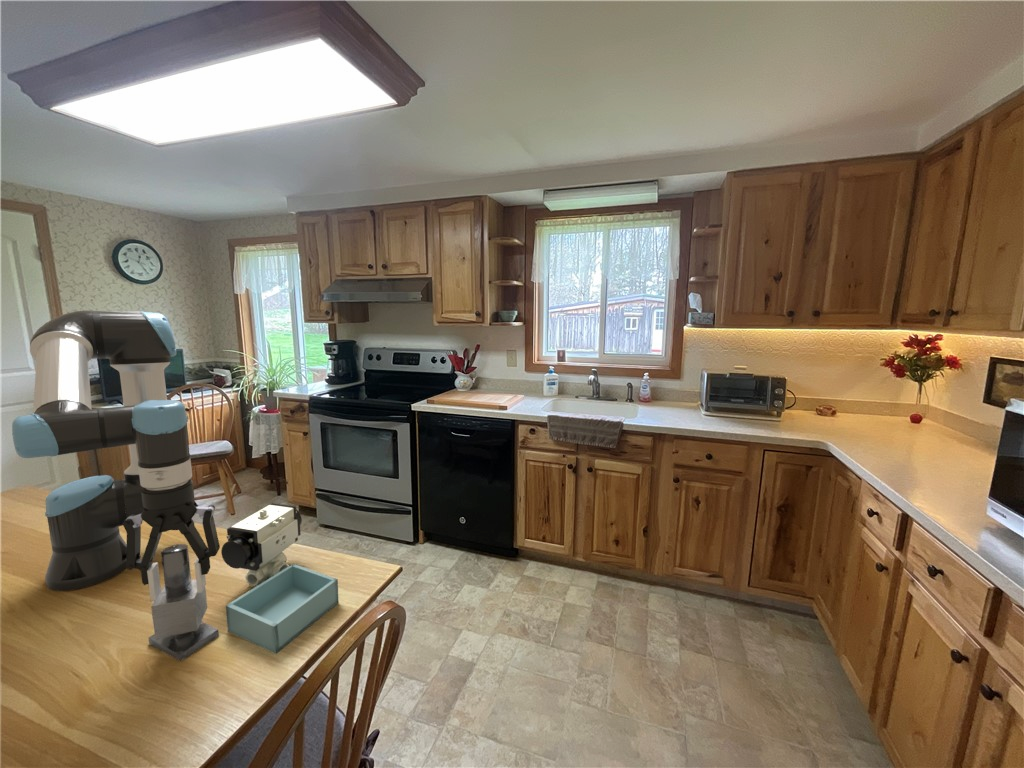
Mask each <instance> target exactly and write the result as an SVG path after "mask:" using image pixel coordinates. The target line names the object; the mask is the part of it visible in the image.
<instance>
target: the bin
mask: <svg viewBox="0 0 1024 768" xmlns="http://www.w3.org/2000/svg"><path fill="white" fill-rule="evenodd" d="M338 580H339V579H338V578H335V577H333V576H330V575H327V574H323V573H321V572H318V571H315V570H312V569H310V568H307V567H304V566H301V565H298V564H295V563H292V564H290V565H288V567H287V568H285V569H284V570H282V571H280V572H279V573H277V574H276V575H274V576H272V577H271V578H269V579H268V580H266V581H264V582H263V583H261V584H259V585H257V586H254V587H253V588H252V589H250V590H248V591H247V592H245V593H243V594H242V595H239V597H237V598H236V599H234V600H232V601H231V602H229V603H227V604H225V613H226V624H227V625H226V626H227V632H228V633H231V634H232V635H235V636H236V637H239V638H241V639H243V640H245V641H247V642H249V643H252V644H254V645H256V646H257V647H260V648H262V649H264V650H266V651H268V652H270V653H272V654H275V655H277V654H278V653H279V652H280V651H282V650H283V649H284V648H285V647H286V646H287V645H289V644H290V643H291V642H292V641H294V640H295V639H296V638H297V637H298V636H300V635H301V634H302V633H304V632H305V631H306V630H307V629H308V628H310V627H311V626H313V624H315V623H316V622H317V621H318V620H319V619H320V618H322V617H324V615H325V614H327V613H328V612H329V611H330V610H332V609H333V608H334V607H336V606H337V605H338V603H339V602H340V601H339V585H338V584H339V582H338Z"/></svg>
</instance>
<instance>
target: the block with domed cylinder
mask: <svg viewBox="0 0 1024 768" xmlns="http://www.w3.org/2000/svg"><path fill="white" fill-rule="evenodd" d="M160 554H161V565H162V572H163V581H164V585H163V587H162V589H161V592H160V593H159V595H158V597H157V598H156V600H155V601H153V602H152V604H151V605H150V607H151V615H152V623H153V624H152V625H153V634H155V639H158V638H163V637H168V636H173V635H177V634H182V633H187V632H191V631H196V630H198V628H199V626H200V623H201V621H202V622H203V618H204V616H205V614H206V612H207V609H208V602H207V590H206V586H205V587H204V589H203V591H202V593H197V584H196V578H195V579H192V575H191V567H190V557H189V555H190V554H189V547H188V545H187V544H185V543H178V544H174V545H170V546H168V547H166V548H164V549H163V550H161V553H160Z"/></svg>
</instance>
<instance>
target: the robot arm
mask: <svg viewBox="0 0 1024 768" xmlns="http://www.w3.org/2000/svg"><path fill="white" fill-rule="evenodd" d="M29 353H30V355H31V357H32V358H33V359H34V360H35V373H34V375H35V377H34V390H33V391H34V394H33V407H32V409H33V410H32V412H33V413H31V414H29V415H23V416H18V417H16V418H14V420H13V421H12V423H11V424H12V425H11V432H12V440H13V446H14V449H15V452H16V454H17V455H18V457H20V458H22V459H33V458H43V457H57V456H61V455H69V454H74V453H81V452H87V451H94V450H100V449H107V448H108V449H109V448H115V447H122V446H123V447H124V446H128V450H129V459H130V464H129V466H128V467H127V468H126V469H125V470H123V475H124V478H122V479H116V480H114V477H113V476H111V475H107V474H102V475H93V476H89V477H85V478H83V477H82V478H81V479H77V480H74V481H71V482H68V483H66V484H63V485H61V486H60V487H59V486H58V487H57V488H55V489H53V490H52V491H51V492H50V493H48V494H47V496H46V498H45V502H44V503H45V512H44V513H45V515H44V516H45V517H46V518H47V519H46V520H47V524H48V531H49V538H50V544H51V550H52V553H51V557H50V560H49V562H48V565H47V566H48V567H47V569H46V572H45V578H44V579H45V586H46V589H49V591H50V590H51V591H55V592H66V591H69V592H70V591H73V590H80V589H84V588H88V587H91V586H95V585H98V584H101V583H102V582H105V581H108V580H110V579H112V578H115V577H116V576H118V575H120V574H121V573H123V572H125V571H126V570H134V569H136V570H139V571H140V574H141V575H140V576H141V582H142V583H141V584H143V585H144V586H147V585H148V590H149V596H150V597H149V598H150V602H151V603H154V601H155V600H156V598H157V597H158V595H159V593H160V592H161V590H162V589H161V588H162V587H161V579H160V570H159V568H160V567H159V562H153V561H154V560H155V559H154V558H155V555H156V551H157V548H158V546H159V543H160V540H161V536H162V534H163V533H165V532H169V531H179V533H180V534H181V535H183V536H184V538H185V539H186V542H187V543H188V544H189V546H190V547H191V549H192V551H193V553H194V555H195V556H196V560H195V562H194V571H195V579H196V584H197V593H202V591H203V589H204V587H205V588H206V584H207V582H206V575H208V574H209V571H210V569H211V560H210V558H211V557H216V556H217V555H218V552H219V550H220V548H221V545H220V540H219V537H218V532H217V527H216V522H215V520H214V519H215V517H214V515H215V514H214V513H215V509H216V506H215V505H213V504H210V505H208V506H199V505H198V503H197V502H196V500H195V491H194V490H195V489H194V480H192V478H193V470H192V460H191V459H192V458H191V454H190V453H191V452H190V443H189V432H188V430H189V429H188V421H189V419H188V416H187V413H186V406H185V404H184V403H183V402H182V401H179V400H174V399H168V397H167V396H168V395H167V388H166V377H165V369H166V368H167V367H169V365H170V364H171V358H173V357H176V356H177V347H176V342H175V337H174V334H173V331H172V328H171V325H170V323H169V320H168V318H167V317H166V316H165V315H164V314H162V313H159V312H150V311H142V310H140V311H123V310H121V311H119V310H115V311H114V310H113V311H112V310H110V311H108V310H77V311H71V312H67V313H64V314H61V315H59V316H56V317H54V318H52V319H50V320H49V321H47V322H45V323H44V324H42V326H40V327H39V328H38V329H37V330H36V331H35V333H34V334H33V335H32V337H31V339H30V343H29ZM170 357H171V358H170ZM94 359H95V360H96V359H98V360H99V359H108V360H109V366H110V367H112V368H113V369H114V370H117V371H118V372H119V373H118V374H119V377H120V378H119V379H120V386H121V395H122V401H123V406H115V407H113V406H112V407H105V408H104V407H101V408H93V407H92V394H91V384H90V382H91V381H90V372H89V371H90V370H89V361H91V360H94ZM196 514H197V515H198V518H200V519H201V520H202V527H203V533H204V536H205V537H204V538H205V541H206V543H205V541H204V540H203V539H204V538H202V536H201V535H200V532H199V531H198V529H197V528H196V526H195V521H194V520H193V517H194V516H195V515H196ZM143 522H145V523H146V524H147V525H149V526H150V527H151V529H150V533H149V538H148V541H147V544H146V547H145V550H144V553H143V555H142V558H141V552H142V551H141V550H142V549H141V546H142V545H141V543H142V542H141V541H142V540H141V539H142V538H141V536H142V535H141V534H142V533H141V532H142V527H141V526H142V524H143ZM122 526H123V528H124V530H125V531H126V541H125V539H124V538H123V537H122V535H121V533H120V527H122ZM206 544H207V545H206Z"/></svg>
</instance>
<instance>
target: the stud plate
mask: <svg viewBox="0 0 1024 768" xmlns="http://www.w3.org/2000/svg"><path fill="white" fill-rule="evenodd" d="M219 636H220V633H219V628H217V627H215V626H212V625H210V624H208V623H206V622H204V621H203V620H202V621H201V623H200V626H199V628H198V630H196V631H191V632H187V633H182V634H177V635H173V636H168V637H163V638H158V639H155V633H153V634H152V635H150V636H149V637H148V644H149V645H150V646H152V647H154V648H155V649H157V650H159V651H160V652H163V653H165V654H166V655H168V656H170V657H172V658H174V659H176V660H178V661H179V662H182V661H184V660H185V659H186V658H188V657H190V656H191V655H193V654H194V653H196V652H197V651H198V650H200V649H202V648H203V647H204V646H206V645H207V644H209V643H210V642H211V641H214V640H215V639H216V638H218V637H219Z"/></svg>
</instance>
